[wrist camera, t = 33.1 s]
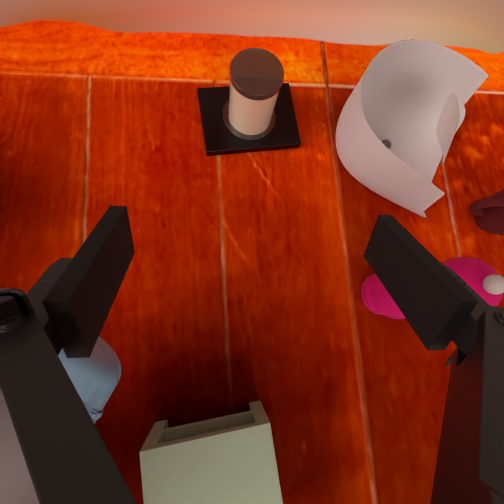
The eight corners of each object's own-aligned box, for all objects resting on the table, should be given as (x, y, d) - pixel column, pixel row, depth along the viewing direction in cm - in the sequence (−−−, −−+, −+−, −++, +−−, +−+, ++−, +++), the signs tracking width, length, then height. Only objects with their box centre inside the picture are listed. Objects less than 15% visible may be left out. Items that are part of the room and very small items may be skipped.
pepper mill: (357, 267, 45) (464, 237, 26) (402, 273, 46) (538, 248, 26) (356, 315, 44) (467, 322, 24) (401, 320, 44) (545, 331, 25)
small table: (165, 525, 36) (150, 585, 28) (155, 421, 38) (138, 451, 30) (274, 497, 38) (289, 546, 30) (260, 399, 40) (270, 422, 32)
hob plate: (206, 156, 46) (206, 151, 44) (197, 93, 48) (197, 87, 46) (298, 147, 48) (301, 143, 47) (287, 88, 50) (288, 82, 48)
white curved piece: (354, 79, 51) (393, 14, 40) (450, 131, 52) (517, 80, 40) (307, 172, 47) (337, 129, 36) (412, 227, 48) (475, 202, 36)
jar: (230, 137, 45) (233, 96, 37) (225, 97, 47) (226, 48, 38) (274, 134, 46) (288, 94, 38) (268, 95, 47) (279, 47, 39)
